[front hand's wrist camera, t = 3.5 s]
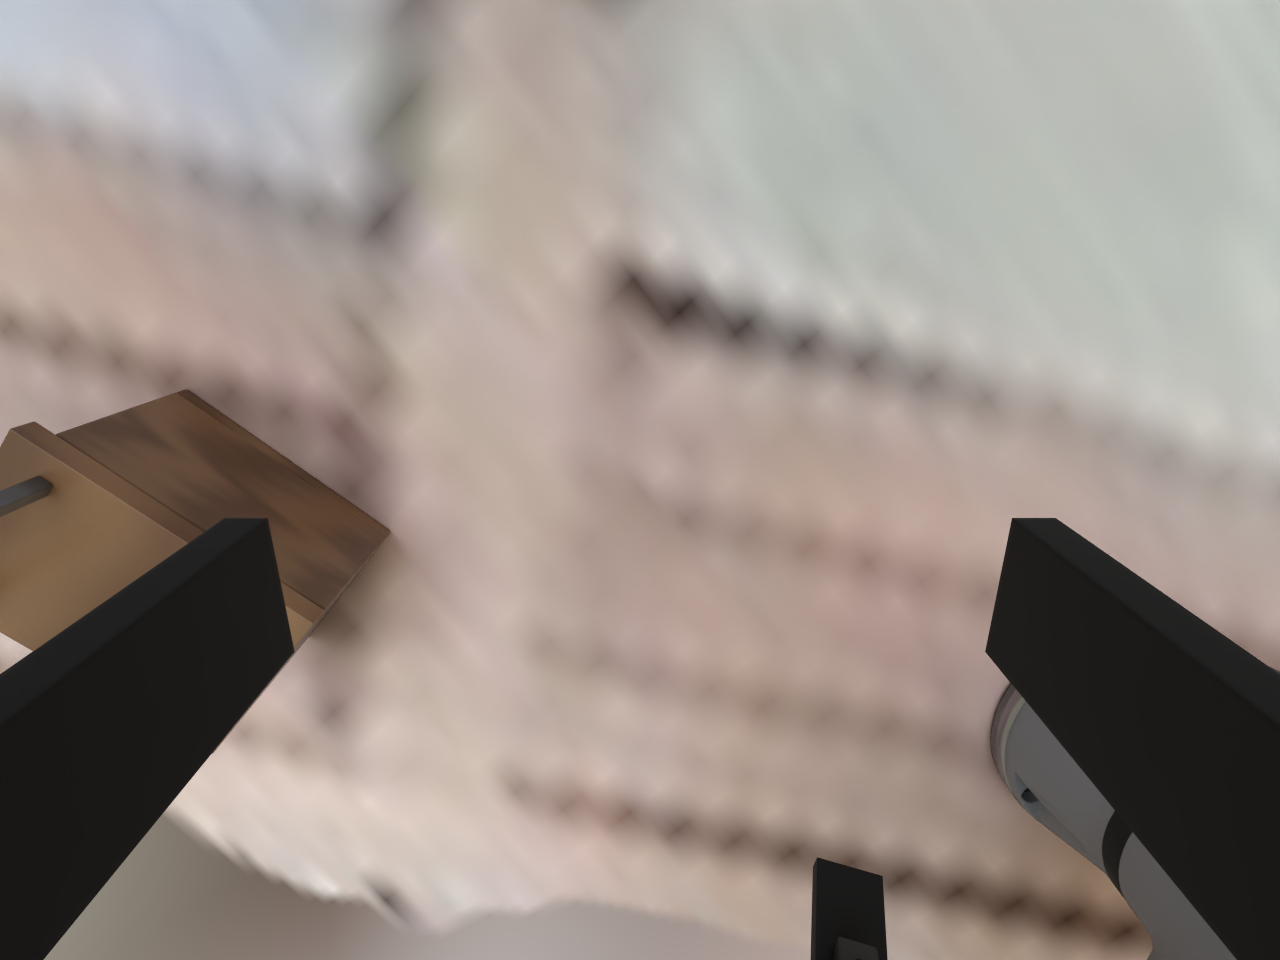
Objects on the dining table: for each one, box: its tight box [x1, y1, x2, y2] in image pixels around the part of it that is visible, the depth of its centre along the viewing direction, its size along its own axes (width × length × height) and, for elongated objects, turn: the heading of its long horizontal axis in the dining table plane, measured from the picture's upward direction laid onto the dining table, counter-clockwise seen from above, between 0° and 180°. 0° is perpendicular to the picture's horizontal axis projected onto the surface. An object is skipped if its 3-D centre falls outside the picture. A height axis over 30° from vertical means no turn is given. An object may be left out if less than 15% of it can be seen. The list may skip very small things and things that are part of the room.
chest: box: [56, 389, 390, 731], centre depth 36 cm, size 13×9×9 cm
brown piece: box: [0, 422, 324, 753], centre depth 27 cm, size 14×9×9 cm
